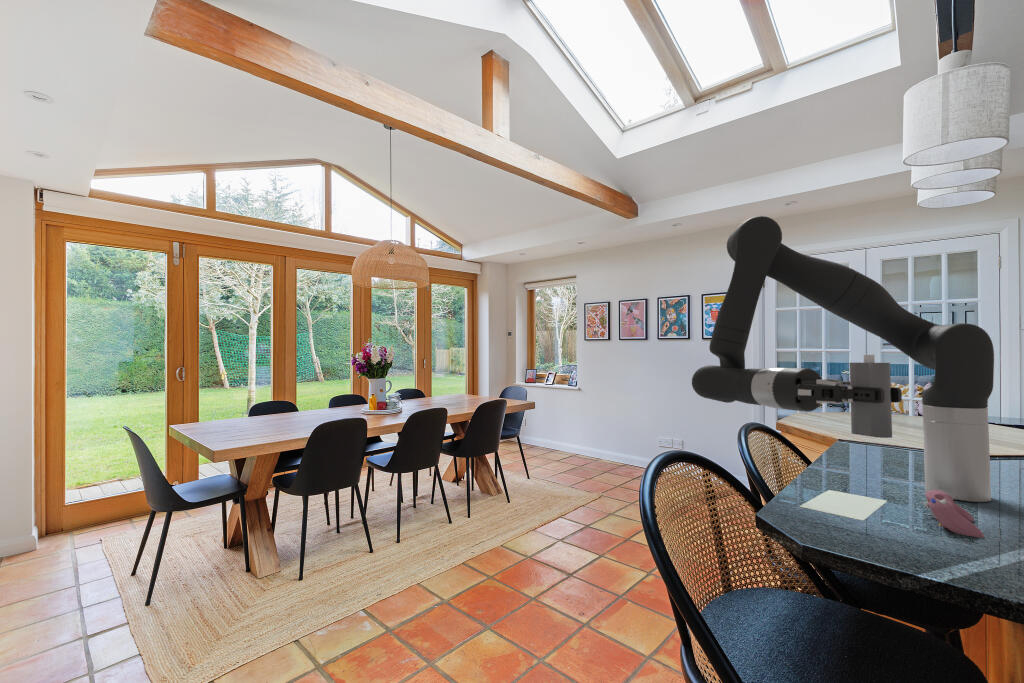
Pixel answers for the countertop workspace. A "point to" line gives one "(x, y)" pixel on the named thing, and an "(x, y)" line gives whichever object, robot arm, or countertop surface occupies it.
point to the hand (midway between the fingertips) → (891, 395)
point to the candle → (871, 415)
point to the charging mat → (844, 504)
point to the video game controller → (951, 514)
